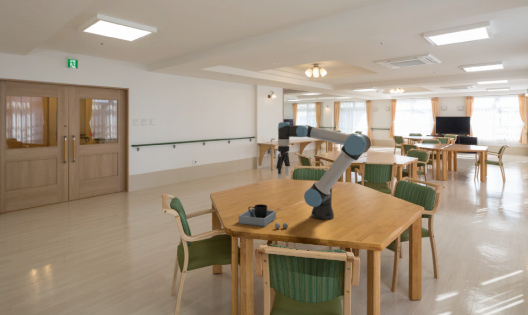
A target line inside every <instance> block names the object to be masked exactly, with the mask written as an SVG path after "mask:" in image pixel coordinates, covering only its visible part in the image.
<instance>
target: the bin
mask: <svg viewBox="0 0 528 315" xmlns="http://www.w3.org/2000/svg"><path fill="white" fill-rule="evenodd" d="M250 212H251V213H252V215H253V216H254V217H252V215H251V214H250ZM250 212H249V209H248V210H246V211H244V212H243V213H241V214H239V215H238V224H240V225H246V226H254V227H262V228H265V227H267V226H268V225H269V224H271V223H272V222H274V220H276V219H277V211H276V210H272V211H271V210H267V215H266V217H265V218H256V217H255V211H254V208H252V207H251V208H250Z"/></svg>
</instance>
